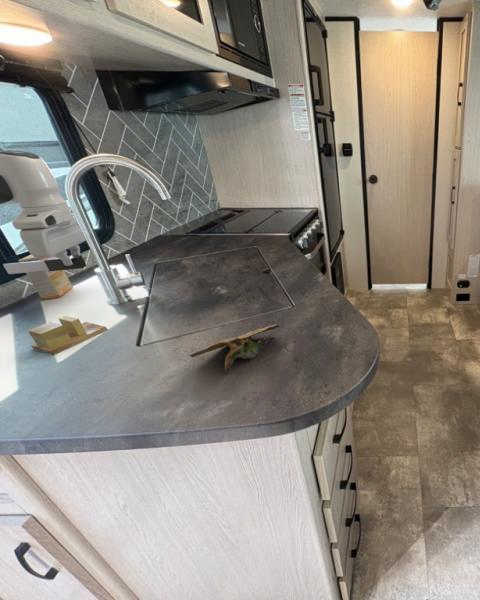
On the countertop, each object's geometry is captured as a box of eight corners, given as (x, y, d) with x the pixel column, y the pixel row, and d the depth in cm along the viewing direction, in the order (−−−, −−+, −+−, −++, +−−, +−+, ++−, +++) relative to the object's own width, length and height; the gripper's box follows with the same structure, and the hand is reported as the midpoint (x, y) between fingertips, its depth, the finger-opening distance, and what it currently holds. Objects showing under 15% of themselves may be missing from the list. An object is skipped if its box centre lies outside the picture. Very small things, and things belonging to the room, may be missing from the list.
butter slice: (66, 332, 77) (58, 318, 75) (73, 329, 78) (65, 315, 77) (79, 335, 76) (71, 321, 74) (86, 332, 77) (78, 318, 75)
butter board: (32, 348, 73) (20, 330, 71) (87, 325, 82) (78, 308, 80) (53, 355, 71) (41, 336, 68) (107, 329, 80) (98, 312, 78)
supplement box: (61, 297, 98) (38, 257, 92) (41, 300, 96) (16, 260, 90) (74, 287, 105) (53, 249, 99) (56, 289, 103) (33, 251, 97)
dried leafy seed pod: (243, 360, 78) (237, 330, 77) (293, 353, 74) (287, 321, 73) (174, 386, 60) (166, 347, 60) (235, 379, 56) (226, 337, 56)
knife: (86, 265, 95) (81, 255, 93) (82, 268, 93) (77, 257, 92) (12, 272, 91) (5, 261, 89) (6, 275, 89) (-1, 264, 87)
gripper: (60, 209, 95) (82, 253, 101) (6, 224, 77) (36, 276, 83) (85, 208, 96) (105, 251, 102) (37, 222, 79) (65, 273, 85)
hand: (73, 262), depth 93 cm, fingers closed on knife, 2 cm apart
